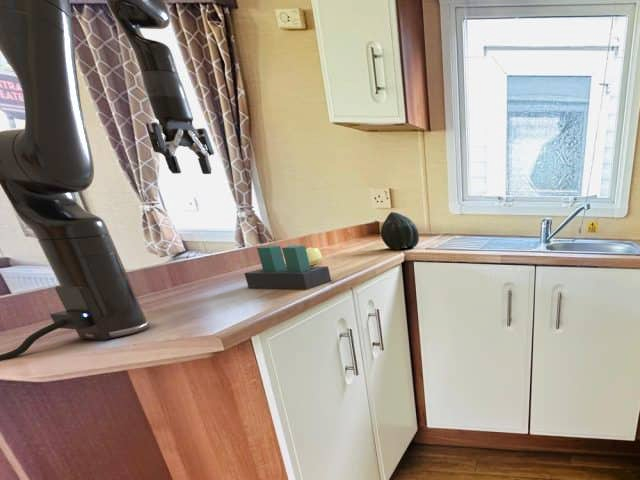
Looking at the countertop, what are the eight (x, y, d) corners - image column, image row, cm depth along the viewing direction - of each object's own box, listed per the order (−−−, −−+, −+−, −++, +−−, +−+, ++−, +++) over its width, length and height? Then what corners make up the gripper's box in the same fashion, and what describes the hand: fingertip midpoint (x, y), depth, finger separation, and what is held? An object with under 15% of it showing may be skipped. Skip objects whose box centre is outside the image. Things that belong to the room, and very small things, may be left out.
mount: (306, 289, 109) (302, 273, 107) (248, 288, 113) (244, 273, 112) (331, 280, 118) (328, 266, 116) (276, 280, 122) (272, 266, 121)
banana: (329, 240, 147) (284, 256, 132) (336, 255, 150) (293, 273, 134) (304, 249, 154) (258, 266, 138) (312, 264, 156) (268, 282, 141)
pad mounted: (304, 286, 113) (294, 247, 108) (291, 286, 114) (281, 247, 109) (314, 283, 116) (305, 245, 112) (301, 283, 117) (292, 245, 113)
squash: (422, 235, 168) (412, 204, 172) (384, 240, 164) (375, 208, 167) (421, 256, 181) (412, 227, 185) (386, 261, 177) (377, 231, 180)
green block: (279, 285, 115) (269, 247, 110) (267, 285, 115) (256, 247, 111) (290, 282, 118) (280, 245, 114) (278, 282, 119) (267, 245, 115)
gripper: (150, 90, 92) (178, 172, 99) (206, 100, 105) (228, 173, 112) (124, 93, 94) (153, 174, 101) (183, 103, 107) (205, 174, 113)
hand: (192, 173), depth 106 cm, fingers open, 8 cm apart
